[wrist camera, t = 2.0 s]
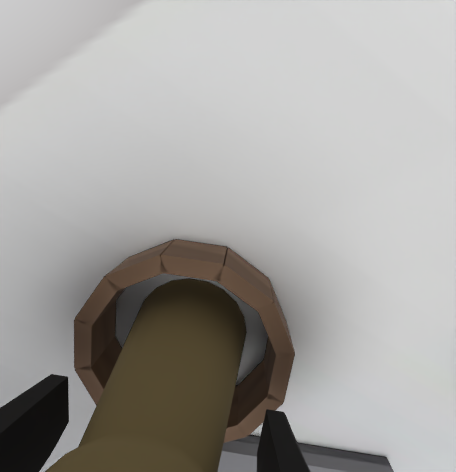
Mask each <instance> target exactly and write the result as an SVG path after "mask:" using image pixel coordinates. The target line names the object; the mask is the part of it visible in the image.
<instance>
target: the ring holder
mask: <svg viewBox="0 0 456 472" xmlns="http://www.w3.org/2000/svg"><path fill="white" fill-rule="evenodd" d="M163 273H166V274H173V275H179V276H186V277H193V278H199V279H206V280H213V281H217V282H218V283H220V284H221V285H223V286H224V287H225V288H227V289H228V290H229V291H231V292H232V293H233V294H235V295H236V296H237V297H239V298H240V299H241V300H243V301H244V302H245V303H247V304H248V305H249V306H251V307H252V308H254V309H255V310H256V311H258V313H259V315H260V317H261V320H262V322H263V325H264V327H265V329H266V332H267V334H268V341H267V346H266V351H265V356H264V360H263V361H262V362H261V363H260V364H259V365H258V366H257V367H256V368H255V369H254V370H253V371H252V372H251V373H250V374H249V375H248V376H247V377H246V378H245V379H244V380H243V381H242V382H241V383H240V384H239V385H238V386H235V390H234V395H233V399H232V404H231V409H230V414H229V419H228V424H227V428H226V433H225V438H224V443H225V442H229V441H233V440H237V439H240V438H244V437H247V436H249V435H250V434H251V433H252V432H253V431H254V430H255V429H256V428H257V427H258V426H259V425H260V424H261V423H263V422H264V418H265V413H266V409H268V410H274V411H275V410H276V409H277V408H278V407H279V406H281V405H282V404H283V402H284V399H285V395H286V390H287V386H288V382H289V377H290V373H291V369H292V364H293V360H294V356H295V352H294V348H293V345H292V341H291V337H290V334H289V330H288V326H287V323H286V320H285V317H284V315H283V312H282V310H281V307H280V305H279V302H278V300H277V297H276V295H275V292H274V290H273V287H272V285H271V282H270V280H269V278H268V277H266V276H265V275H264V274H262V273H261V272H260V271H259V270H257V269H256V268H255V267H253V266H252V265H251V264H249V263H248V262H247V261H245V260H244V259H243V258H241V257H240V256H239V255H238V254H236V253H235V252H234V251H232V250H231V249H230V248H227V247H224V246H218V245H211V244H204V243H197V242H191V241H184V240H177V239H176V240H172V241H169V242H166V243H164V244H161V245H159V246H156V247H154V248H151V249H149V250H146V251H143V252H141V253H138V254H136V255H133V256H131V257H129V258H127V259H126V260H125V261H123V262H122V263H121V264H120V265H118V266H117V267H116V268H115V269H113V270H112V271H111V272H109V273H108V274H107V275H106V276H104V278H103V279H102V280H101V282H100V283H99V285H98V286H97V287H96V289H95V290H94V292H93V293H92V295H91V296H90V297H89V299H88V300H87V302H86V303H85V304H84V306H83V307H82V309H81V310H80V312H79V313H78V314H77V316H76V317H75V320H74V368H75V371H76V373H77V374H78V376H79V378H80V379H81V381H82V382H83V384H84V386H85V387H86V389H87V391H88V392H89V394H90V396H91V397H92V399H93V400H94V402H95V404H96V405H97V404H98V402H99V400H100V397H101V395H102V393H103V391H104V388H105V386H106V384H107V382H108V379H109V377H110V375H111V373H112V370H113V368H114V366H115V364H116V362H117V359H118V357H119V355H120V353H121V350H122V348H121V346H120V344H119V343H118V341H117V339H116V337H115V323H116V300H117V299H118V297H119V296H120V295H121V293H122V292H123V290H124V289H125V288H126V287H128V286H131V285H134V284H136V283H139V282H142V281H144V280H147V279H150V278H152V277H155V276H158V275H160V274H163Z"/></svg>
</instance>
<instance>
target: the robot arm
mask: <svg viewBox="0 0 456 472" xmlns="http://www.w3.org/2000/svg"><path fill="white" fill-rule="evenodd" d="M68 422H69V409H68V377H65V376H59V375H53V374H51V375H50V376H48V377H47V378H45V379H44V380H42V381H40V382H39V383H37V384H36V385H34V386H33V387H31V388H30V389H28V390H27V391H25V392H24V393H22V394H21V395H19V396H18V397H16V398H15V399H13V400H12V401H10V402H9V403H7V404H6V405H4V406H3V407H1V408H0V472H39V471H40V470H41V468H42V467H43V465H44V464H45V462H46V461H47V459H48V458H49V456H50V455H51V453H52V451H53V449H54V448H55V446H56V444H57V442H58V441H59V439H60V437H61V435H62V433H63V431H64V430H65V428H66V426H67V424H68ZM257 472H311V471H310V469H309V467H308V465H307V463H306V461H305V459H304V457H303V455H302V452H301V450H300V448H299V446H298V444H297V441H296V439H295V437H294V434H293V432H292V429H291V427H290V425H289V422H288V419H287V417H286V415H285V413H284V412H280V411H274V410H268V409H266V413H265V418H264V422H263V427H262V432H261V436H260V441H259V446H258V450H257Z"/></svg>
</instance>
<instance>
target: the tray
mask: <svg viewBox="0 0 456 472" xmlns="http://www.w3.org/2000/svg"><path fill="white" fill-rule="evenodd" d="M259 441H260V437H257V436H250V435H249V436H247V437H244V438H240V439H237V440H233V441H229V442H225V443H223V448H222V453H221V457H220V462H219V467H218V472H257V450H258V446H259ZM297 444H298V446H299V448H300V450H301V452H302V455H303V457H304V459H305V461H306V463H307V465H308V467H309V469H310V471H311V472H394V471H393V469H392V467H391V465H390V463H389V461H388V459H387V458H386V457H380V456H373V455H367V454H361V453H355V452H349V451H343V450H337V449H330V448H324V447H318V446H312V445H306V444H300V443H297Z"/></svg>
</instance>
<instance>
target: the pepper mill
mask: <svg viewBox="0 0 456 472" xmlns="http://www.w3.org/2000/svg"><path fill="white" fill-rule="evenodd" d="M245 337H246V326H245V319H244V316H243V314H242V312H241V310H240V308H239V306H238V304H237V302H236V301H235V300H234V299H233V298H232V297H231V296H230V295H229V294H227V293H226V292H225V291H224V290H223V289H221V288H219V287H217V286H215V285H213V284H211V283H209V282H206V281H201V280H195V279H182V280H173V281H170V282H168V283H166V284H164V285H161V286H159V287H157V288H156V289H155V290H154V291H153V292H152V293H151V294H150V295H149V296H148V297H146V298H145V300H144V302H143V304H142V306H141V308H140V310H139V312H138V315H137V317H136V319H135V321H134V324H133V326H132V328H131V330H130V332H129V335H128V337H127V339H126V341H125V344H124V346H123V348H122V350H121V353H120V355H119V357H118V359H117V362H116V364H115V366H114V368H113V370H112V373H111V375H110V377H109V379H108V382H107V384H106V386H105V388H104V391H103V393H102V395H101V397H100V400H99V402H98V404H97V406H96V408H95V411H94V413H93V415H92V417H91V420H90V422H89V424H88V426H87V429H86V431H85V433H84V435H83V438H82V440H81V442H80V444H79V446H78V448H76V449H74V450H72V451H71V452H69V453H67V454H65V455H64V456H63V457H61V458H60V459H59V460H58V461H57V462H56V463H54V464H53V465H52V466H51V467H50V468H49V469H47V470H46V471H45V472H218V467H219V462H220V457H221V453H222V448H223V443H224V438H225V433H226V428H227V424H228V419H229V414H230V409H231V404H232V399H233V395H234V390H235V385H236V380H237V375H238V370H239V366H240V361H241V356H242V351H243V346H244V341H245Z"/></svg>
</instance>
